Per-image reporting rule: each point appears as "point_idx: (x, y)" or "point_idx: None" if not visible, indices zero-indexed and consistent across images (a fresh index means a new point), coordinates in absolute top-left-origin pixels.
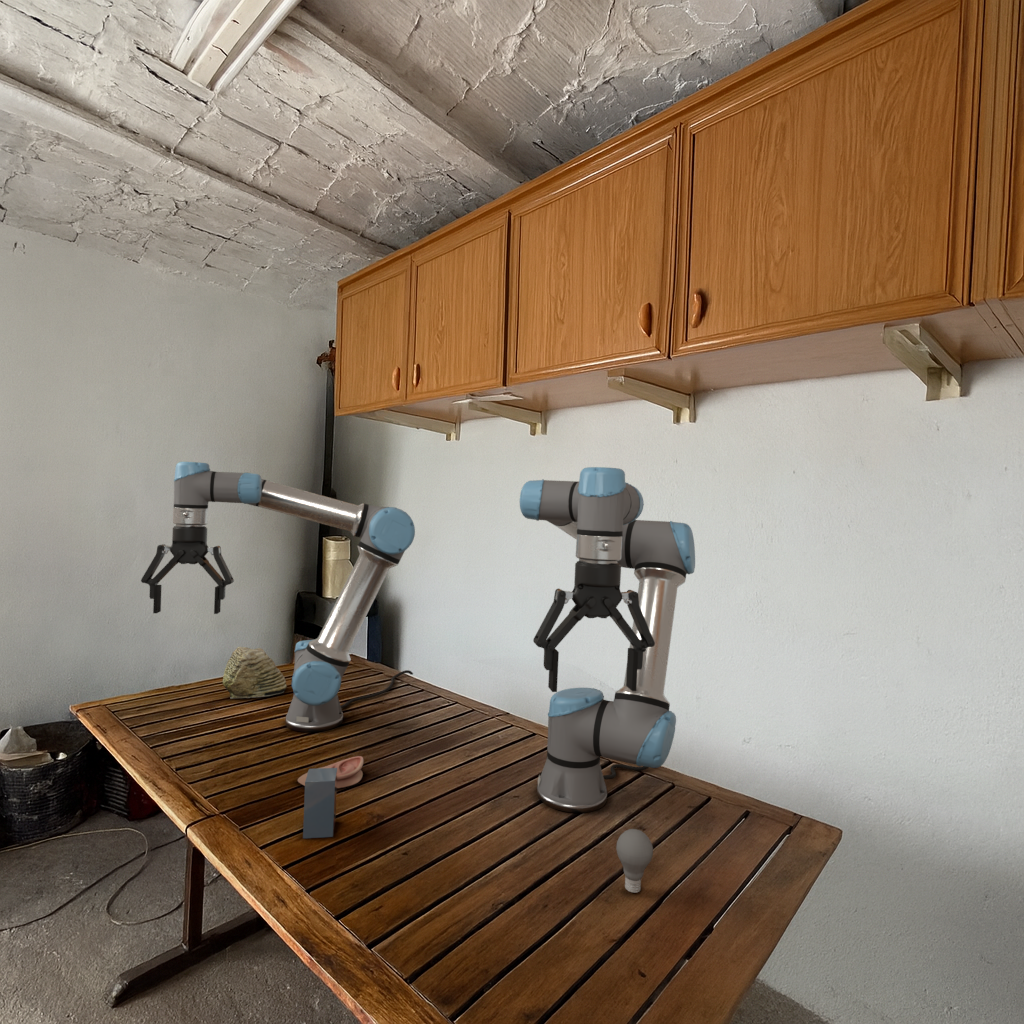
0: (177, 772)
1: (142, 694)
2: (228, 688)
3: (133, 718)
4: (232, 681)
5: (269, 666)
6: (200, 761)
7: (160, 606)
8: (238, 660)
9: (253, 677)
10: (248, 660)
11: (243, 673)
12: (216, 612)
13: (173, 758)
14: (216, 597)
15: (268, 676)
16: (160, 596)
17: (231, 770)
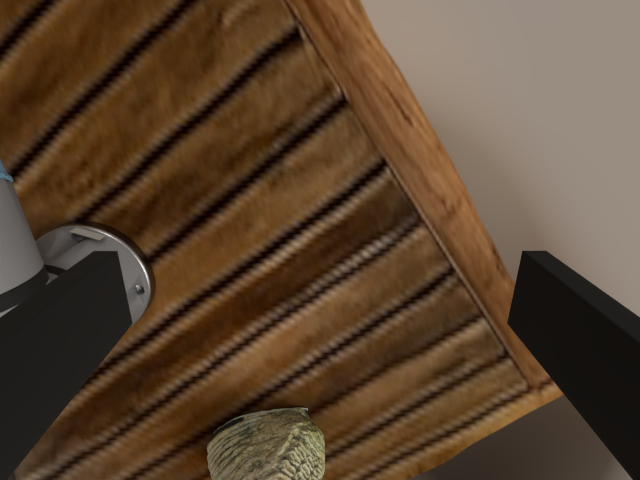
0: (291, 15)
1: (477, 436)
2: (308, 420)
3: (461, 319)
4: (298, 428)
5: (224, 476)
6: (263, 75)
7: (526, 340)
8: (285, 476)
9: (256, 442)
10: (261, 476)
11: (274, 445)
12: (94, 255)
13: (323, 98)
14: (7, 321)
15: (230, 453)
16: (578, 392)
17: (180, 15)
